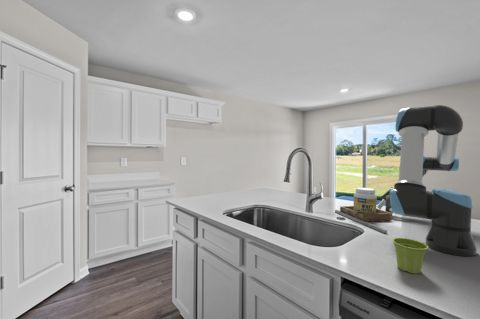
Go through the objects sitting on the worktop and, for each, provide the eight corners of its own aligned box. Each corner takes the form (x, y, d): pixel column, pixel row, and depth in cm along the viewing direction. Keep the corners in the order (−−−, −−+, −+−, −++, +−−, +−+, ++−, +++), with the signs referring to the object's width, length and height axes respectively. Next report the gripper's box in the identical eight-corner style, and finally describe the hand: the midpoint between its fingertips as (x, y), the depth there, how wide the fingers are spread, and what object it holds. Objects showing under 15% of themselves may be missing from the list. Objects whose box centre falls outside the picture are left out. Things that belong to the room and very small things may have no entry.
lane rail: (387, 233, 110) (387, 230, 110) (384, 233, 110) (384, 230, 110) (336, 212, 149) (336, 209, 149) (334, 212, 149) (334, 210, 149)
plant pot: (411, 262, 81) (412, 237, 80) (435, 276, 71) (436, 248, 71) (385, 262, 80) (386, 237, 80) (405, 276, 71) (406, 248, 71)
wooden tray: (405, 219, 134) (405, 198, 133) (361, 221, 128) (362, 200, 128) (379, 211, 153) (379, 193, 152) (340, 212, 147) (340, 193, 147)
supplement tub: (355, 218, 136) (355, 189, 135) (351, 213, 147) (352, 186, 147) (378, 220, 132) (379, 190, 131) (373, 215, 144) (374, 187, 143)
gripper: (427, 190, 134) (403, 218, 132) (396, 185, 156) (374, 209, 153) (420, 181, 133) (395, 209, 131) (389, 177, 155) (367, 201, 152)
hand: (384, 209), depth 142 cm, fingers open, 9 cm apart
